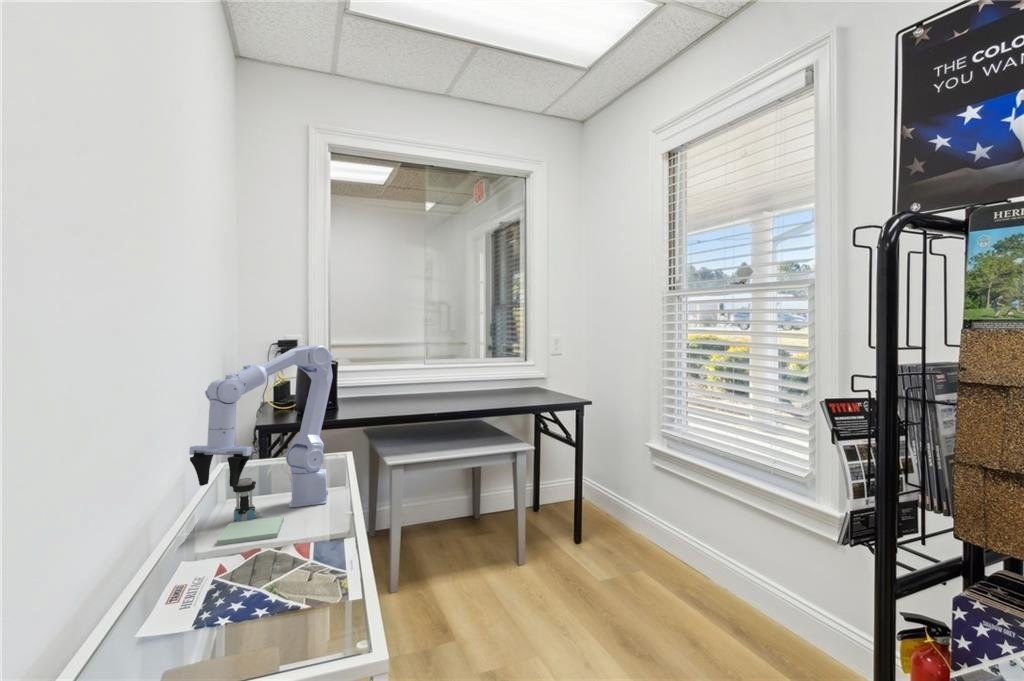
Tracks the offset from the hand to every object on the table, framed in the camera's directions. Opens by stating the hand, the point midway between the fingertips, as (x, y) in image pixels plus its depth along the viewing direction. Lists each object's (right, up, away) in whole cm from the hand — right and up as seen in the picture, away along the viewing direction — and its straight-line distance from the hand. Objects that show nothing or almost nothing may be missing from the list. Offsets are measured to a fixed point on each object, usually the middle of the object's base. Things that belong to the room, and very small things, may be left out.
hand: (218, 485), depth 119 cm
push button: (+4, -11, +6) cm, 13 cm away
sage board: (+10, -10, -3) cm, 15 cm away
